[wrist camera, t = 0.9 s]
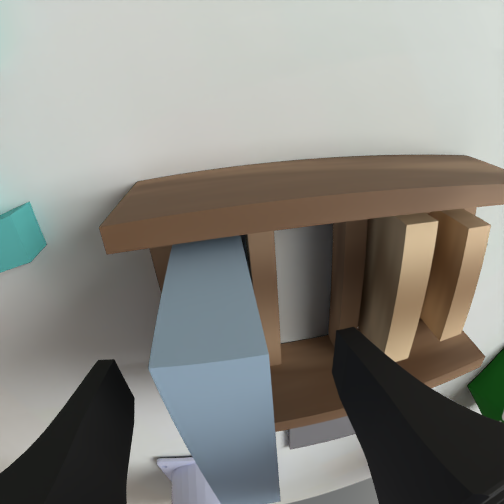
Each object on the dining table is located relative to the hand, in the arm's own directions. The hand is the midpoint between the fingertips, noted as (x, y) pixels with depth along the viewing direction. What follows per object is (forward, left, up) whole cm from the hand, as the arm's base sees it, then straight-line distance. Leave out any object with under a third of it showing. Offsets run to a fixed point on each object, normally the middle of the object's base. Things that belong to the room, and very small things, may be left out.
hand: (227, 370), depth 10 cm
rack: (0, -5, -6) cm, 7 cm away
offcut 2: (0, -11, -6) cm, 12 cm away
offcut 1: (0, -7, -6) cm, 9 cm away
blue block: (0, 0, -6) cm, 6 cm away
